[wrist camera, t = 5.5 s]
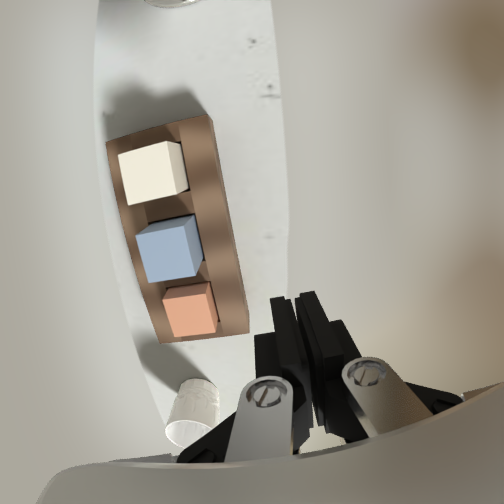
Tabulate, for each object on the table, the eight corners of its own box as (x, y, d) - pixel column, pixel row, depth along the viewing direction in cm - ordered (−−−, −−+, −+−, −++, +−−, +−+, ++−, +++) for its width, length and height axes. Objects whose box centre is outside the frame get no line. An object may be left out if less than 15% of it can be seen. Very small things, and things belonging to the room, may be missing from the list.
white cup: (215, 411, 47) (210, 454, 38) (172, 399, 46) (161, 441, 37) (228, 383, 45) (225, 429, 36) (181, 369, 44) (169, 413, 35)
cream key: (139, 154, 31) (117, 154, 25) (180, 144, 30) (166, 141, 25) (147, 197, 32) (128, 205, 26) (189, 187, 32) (176, 194, 26)
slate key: (153, 222, 33) (135, 235, 27) (194, 214, 33) (183, 225, 27) (163, 263, 34) (148, 283, 29) (203, 256, 34) (195, 275, 29)
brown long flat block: (122, 143, 34) (105, 142, 29) (212, 120, 33) (207, 114, 29) (168, 324, 42) (159, 343, 37) (249, 313, 41) (249, 333, 36)
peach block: (174, 279, 37) (162, 299, 32) (211, 273, 37) (205, 293, 32) (183, 312, 39) (174, 337, 33) (219, 307, 39) (215, 332, 33)
